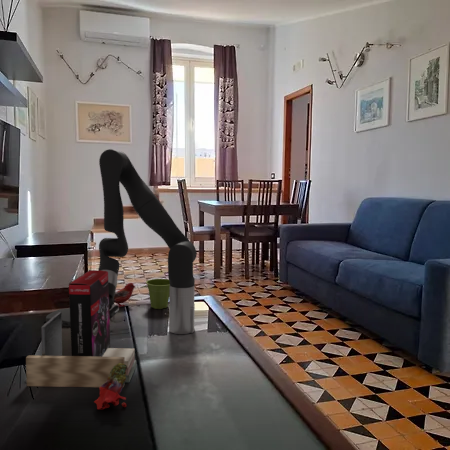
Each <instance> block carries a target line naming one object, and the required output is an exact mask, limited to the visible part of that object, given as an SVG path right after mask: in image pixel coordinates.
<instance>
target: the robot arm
mask: <svg viewBox="0 0 450 450" xmlns="http://www.w3.org/2000/svg"><path fill="white" fill-rule="evenodd" d="M98 161H99V162H98V163H99V164H98V165H99V170H100V175H101V176H100V177H101V184H102V192H103V229H104V231H105V232H109V233H112V234H114V235H116V237H104V238H102V239H101V240H100V241H99V242H98V243H99V244H98V251H99V266H98V269H97V270H100V271H107V272H108V286H109V319H110V320H111V319H112V318H114V317H115V315H116V314H118V313H119V312H120V307H119V305H118V304H117V305H116V303H114V296H115V292H117V287H118V276H119V271H120V264H121V263H120V261H119V260H117V259H116V258H123V257H126V255H127V254H128V252H129V243H128V241H127V237H126V233H125V228H124V219H125V218H124V217H125V216H124V215H125V213H124V212H125V211H124V205H123V200H122V195H121V190H120V184H121V185H122V186H123V188H124V189H125V191H126V193H127V195H128V198H129V201H130V203H131V206H132V207H133V209H134V211H135V212H136V214H137V215H138V217H140V219H141V220H142V222H143V223H144V224H145V225H146V227H148V228H149V229H151V230H152V231H153V232H155V233H156V234H157V235H158V236H159V237H160V238H161V239H162V240H163V241H164V243H165V244H166V246H167V247H168V249H169V251H168V254H167V277H168V280H169V281H170V291H169V301H168V311H169V313H168V323H169V324H168V329H169V330H168V332H170V333H171V334H175V335H186V334H190V333H191V334H193V333H194V330H195V309H196V308H195V281H196V280H195V277H194V270H193V269H194V262H195V261H196V258H197V248H196V247H195V245H194V244H193V243H192V241H190V239H188V237H187V236H186V235H185V234H184V233H183V231H181V230H180V228H179V227H178V226H177V224H176V222H175V221H174V219H173V218H172V216H171V215H170V214H169V213H168V211H167V210H166V208H165V206H164V205H163V204H162V202H161V201H160V200H159V199H158V197H157V196H156V194H155V193H154V192H153V191H152V190H151V188H150V187H149V186H148V185H147V183H145V181H144V180H143V179H142V177H141V176H140V175H139V173H138V172H137V169H136V168H135V167H134V164H133V163H132V162H131V159H130V158H129V156H128V155H127V154H126V153H124V152H123V151H121V150H118V149H112V148H110V149H105V150H104V151H103V152H102V153H101V154H100V156H99V160H98Z"/></svg>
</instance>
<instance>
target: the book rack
mask: <svg viewBox="0 0 450 450" xmlns="http://www.w3.org/2000/svg"><path fill="white" fill-rule="evenodd" d="M135 349H136V348H125V347H124V348H120V347H118V348H116V347H115V348H114V347H110V348H107V350H106V352H105V353H104V355H103V356H102V357H96V356H72V355H62V356H42V355H32V354H31V355H30V354H29V355H27V356H26V357H25V367H26V368H25V370H26V371H25V372H26V379H27V382H26V387H54V388H55V387H58V388H59V387H60V388H61V387H62V388H63V387H65V388H66V387H68V388H69V387H70V388H71V387H72V388H73V387H75V388H100V386H101V385H103V384H104V383H105V382H106V381H107V378H108V376H109V374H110V371H111V370H112V368H113V367H114V366H115V365H117V364H118V363H122V364H125V365H127V369H126V376H125V377H126V380H125V383H130V381H131V379H132V377H133V375H134V372H135V370H136V368H137V360H136V359H135V355H136V354H135V351H136V350H135ZM125 383H124V386H123V388H124V387H125Z"/></svg>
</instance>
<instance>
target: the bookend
mask: <svg viewBox="0 0 450 450" xmlns="http://www.w3.org/2000/svg"><path fill="white" fill-rule="evenodd" d="M62 328H63V326H62V319H61V312H58V313H57V314H56V315H55V316H54V317H52V318H51V319H50V320H49V321H48V322H45V323H44V324H43V325H42V326H41V356H63V334H62V333H63V331H62ZM24 383H27V378H25V381H24Z"/></svg>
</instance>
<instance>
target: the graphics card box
mask: <svg viewBox="0 0 450 450" xmlns="http://www.w3.org/2000/svg"><path fill="white" fill-rule="evenodd" d="M68 297H69V308H70V326H69V328H70V350H71V356H96V357H102V356H103V355H104V353H105V352H106V350H107V348H111V331H110V330H111V328H110V327H111V326H110V324H111V323H110V320H111V319H109V311H110V310H109V286H108V272H107V271H100V270H98V269H97V270H95V269H92V270H90V269H88V271H87V272H85V273H83V274H82V275H80V276H78V277H77V278H76V279H73V280H72V281H70V282H68Z"/></svg>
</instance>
